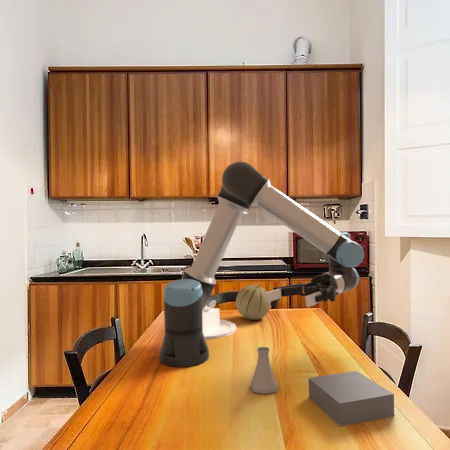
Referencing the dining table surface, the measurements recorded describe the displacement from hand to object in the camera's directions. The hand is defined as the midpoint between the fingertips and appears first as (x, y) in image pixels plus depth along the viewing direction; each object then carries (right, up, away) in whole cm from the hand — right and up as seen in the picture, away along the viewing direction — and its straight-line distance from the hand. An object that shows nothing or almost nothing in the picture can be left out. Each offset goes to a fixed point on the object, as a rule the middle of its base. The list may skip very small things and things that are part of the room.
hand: (285, 299), depth 101 cm
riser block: (+11, -21, -18) cm, 30 cm away
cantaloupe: (-4, -20, +58) cm, 61 cm away
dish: (-24, -21, +44) cm, 55 cm away
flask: (-7, -21, -8) cm, 23 cm away
